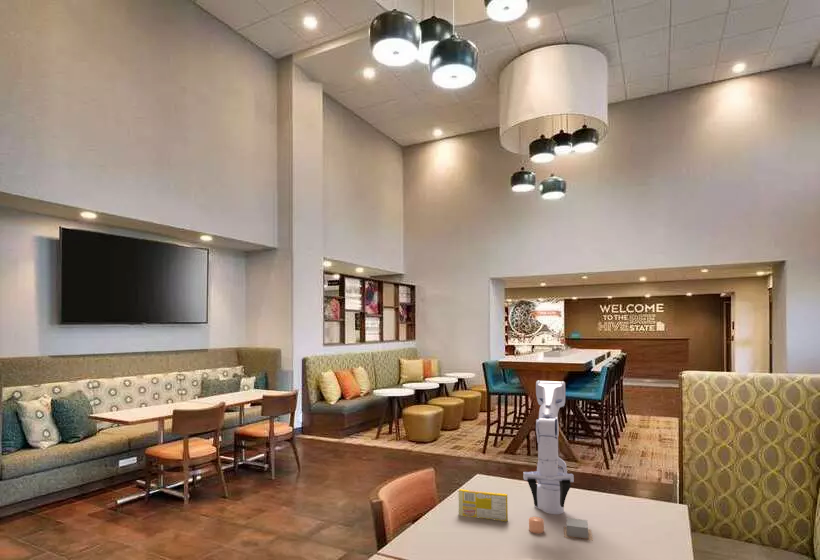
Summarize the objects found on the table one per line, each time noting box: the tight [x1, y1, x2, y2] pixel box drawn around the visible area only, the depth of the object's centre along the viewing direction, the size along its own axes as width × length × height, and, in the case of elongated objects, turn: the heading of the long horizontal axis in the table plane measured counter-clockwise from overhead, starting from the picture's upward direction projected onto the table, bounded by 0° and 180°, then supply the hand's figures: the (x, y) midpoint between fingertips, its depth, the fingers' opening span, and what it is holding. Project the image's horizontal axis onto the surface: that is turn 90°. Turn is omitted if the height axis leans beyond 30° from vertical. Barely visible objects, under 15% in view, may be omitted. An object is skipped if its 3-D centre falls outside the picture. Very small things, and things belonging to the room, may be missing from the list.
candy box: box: [458, 488, 509, 522], centre depth 165 cm, size 16×2×8 cm, turn 71°
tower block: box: [566, 517, 589, 539], centre depth 149 cm, size 6×6×3 cm
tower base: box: [563, 526, 594, 541], centre depth 149 cm, size 8×8×2 cm
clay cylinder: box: [528, 516, 545, 534], centre depth 151 cm, size 4×4×4 cm
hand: (548, 505), depth 149 cm, fingers open, 7 cm apart
